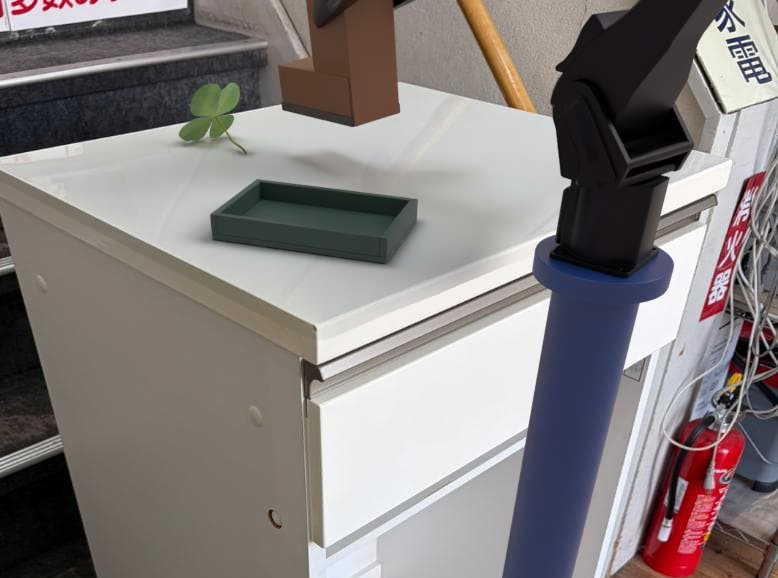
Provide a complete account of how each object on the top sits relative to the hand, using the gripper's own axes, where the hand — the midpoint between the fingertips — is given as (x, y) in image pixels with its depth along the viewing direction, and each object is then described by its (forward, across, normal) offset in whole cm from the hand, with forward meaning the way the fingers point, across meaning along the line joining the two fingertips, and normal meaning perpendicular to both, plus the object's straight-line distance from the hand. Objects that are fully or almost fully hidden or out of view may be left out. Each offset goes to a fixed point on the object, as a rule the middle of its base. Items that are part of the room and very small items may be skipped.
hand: (341, 20), depth 74 cm
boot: (+6, -1, +5) cm, 8 cm away
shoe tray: (+1, +12, +17) cm, 21 cm away
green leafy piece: (+19, +5, -1) cm, 20 cm away
